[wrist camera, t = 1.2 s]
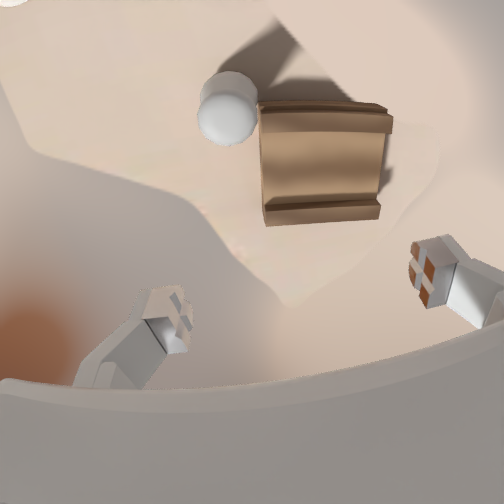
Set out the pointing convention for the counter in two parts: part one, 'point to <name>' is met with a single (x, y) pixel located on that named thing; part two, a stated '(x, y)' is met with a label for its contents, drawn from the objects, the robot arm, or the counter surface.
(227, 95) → the salt shaker
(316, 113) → the display stand
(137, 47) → the counter surface
